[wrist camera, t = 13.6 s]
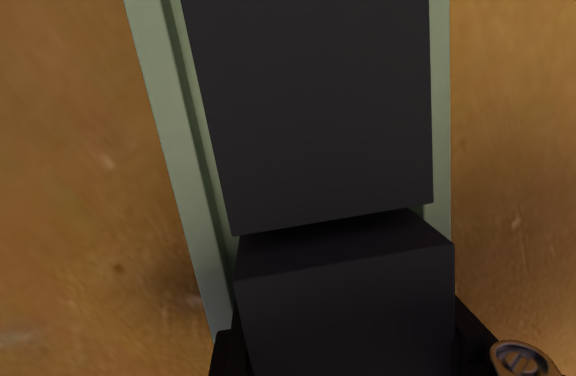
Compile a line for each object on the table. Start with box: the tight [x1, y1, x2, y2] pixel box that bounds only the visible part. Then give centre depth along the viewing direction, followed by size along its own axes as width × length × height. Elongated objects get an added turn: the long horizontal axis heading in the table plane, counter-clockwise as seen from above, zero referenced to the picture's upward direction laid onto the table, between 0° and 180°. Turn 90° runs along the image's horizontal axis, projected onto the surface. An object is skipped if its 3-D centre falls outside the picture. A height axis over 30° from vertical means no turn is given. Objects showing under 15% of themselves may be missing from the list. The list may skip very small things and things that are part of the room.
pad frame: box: [123, 0, 451, 344], centre depth 12 cm, size 20×9×2 cm, turn 8°
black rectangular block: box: [180, 0, 434, 237], centre depth 9 cm, size 8×5×4 cm, turn 8°
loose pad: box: [232, 208, 455, 376], centre depth 10 cm, size 8×5×4 cm, turn 9°
